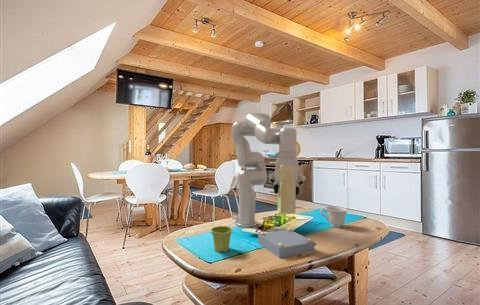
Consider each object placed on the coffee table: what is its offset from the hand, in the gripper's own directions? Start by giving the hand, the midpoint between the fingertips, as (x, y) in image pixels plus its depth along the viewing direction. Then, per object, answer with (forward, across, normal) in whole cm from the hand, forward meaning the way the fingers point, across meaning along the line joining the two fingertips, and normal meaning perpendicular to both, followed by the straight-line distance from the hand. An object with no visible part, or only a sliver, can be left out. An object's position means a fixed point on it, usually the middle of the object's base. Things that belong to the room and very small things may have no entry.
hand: (286, 194), depth 115 cm
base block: (+24, 0, 0) cm, 24 cm away
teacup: (+24, +20, +43) cm, 53 cm away
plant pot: (+24, -25, -14) cm, 37 cm away
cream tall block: (+8, 0, 0) cm, 8 cm away
